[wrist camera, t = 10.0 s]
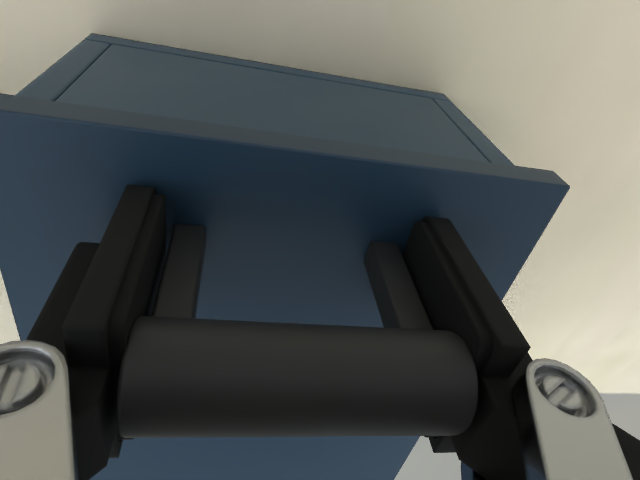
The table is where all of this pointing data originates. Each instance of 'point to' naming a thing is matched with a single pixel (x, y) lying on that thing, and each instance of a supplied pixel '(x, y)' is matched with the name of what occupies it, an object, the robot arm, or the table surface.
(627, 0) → the table surface
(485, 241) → the lunchbox lid
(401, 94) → the box
